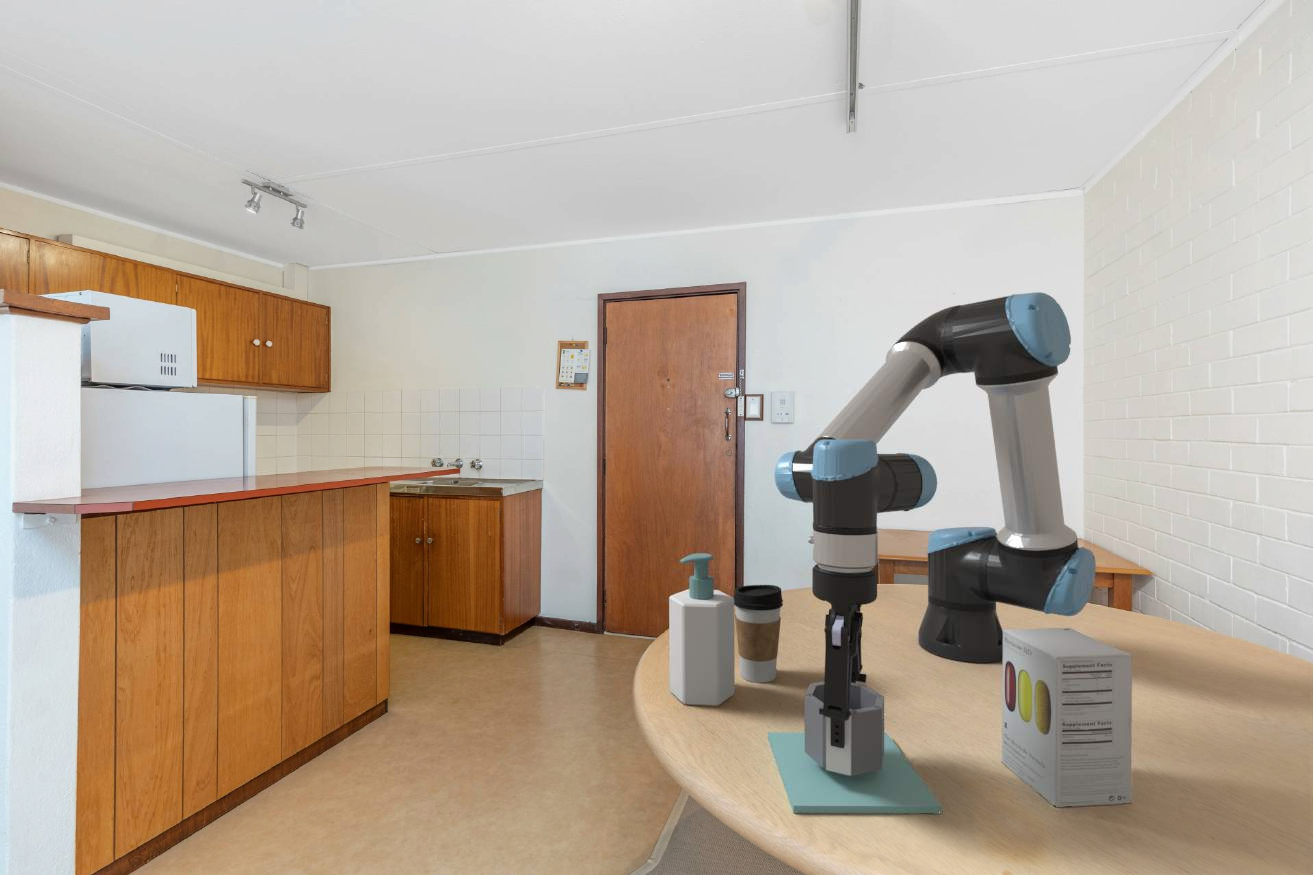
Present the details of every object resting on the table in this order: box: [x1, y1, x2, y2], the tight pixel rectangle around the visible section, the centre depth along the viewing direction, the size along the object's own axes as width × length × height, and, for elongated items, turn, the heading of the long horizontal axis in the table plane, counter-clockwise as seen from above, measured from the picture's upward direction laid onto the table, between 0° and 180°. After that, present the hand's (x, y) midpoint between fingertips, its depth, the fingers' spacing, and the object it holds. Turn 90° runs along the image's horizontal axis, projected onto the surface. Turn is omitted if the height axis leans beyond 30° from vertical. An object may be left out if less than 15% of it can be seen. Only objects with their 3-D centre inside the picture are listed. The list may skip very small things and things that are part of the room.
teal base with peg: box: [767, 709, 943, 815], centre depth 72 cm, size 16×16×7 cm
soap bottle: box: [668, 552, 736, 707], centre depth 95 cm, size 10×9×22 cm
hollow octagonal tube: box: [804, 680, 885, 775], centre depth 72 cm, size 9×9×7 cm
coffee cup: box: [732, 584, 784, 684], centre depth 101 cm, size 8×8×15 cm
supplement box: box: [1001, 627, 1133, 808], centre depth 70 cm, size 10×9×17 cm
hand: (844, 751), depth 72 cm, fingers closed on hollow octagonal tube, 9 cm apart
